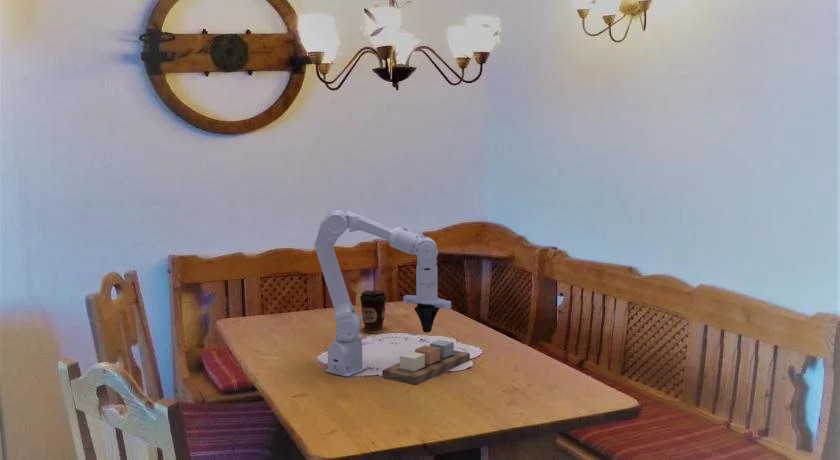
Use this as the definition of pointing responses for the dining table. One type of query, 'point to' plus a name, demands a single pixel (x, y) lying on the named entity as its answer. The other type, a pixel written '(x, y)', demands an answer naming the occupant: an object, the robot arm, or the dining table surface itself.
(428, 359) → the salmon brown square block
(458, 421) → the dining table surface
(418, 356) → the cream block
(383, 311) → the coffee cup
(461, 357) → the board
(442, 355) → the button slate
